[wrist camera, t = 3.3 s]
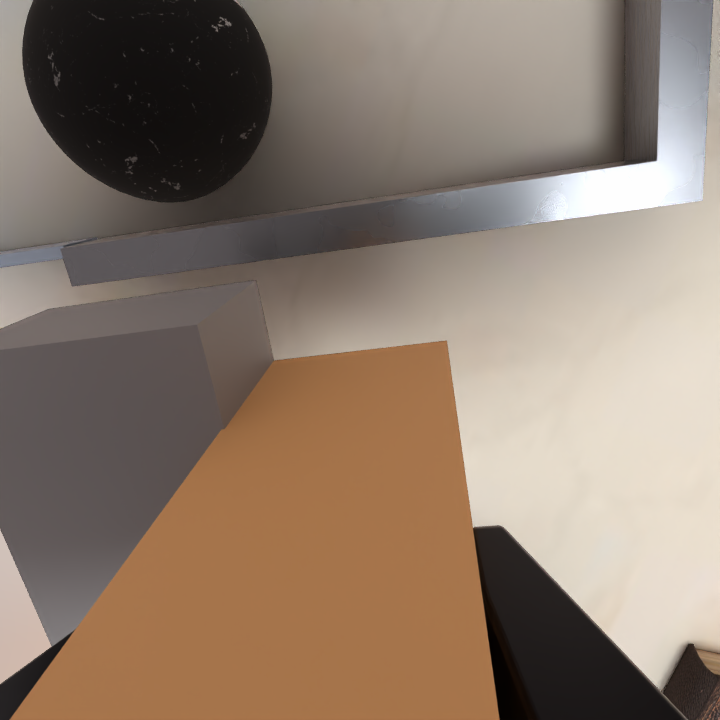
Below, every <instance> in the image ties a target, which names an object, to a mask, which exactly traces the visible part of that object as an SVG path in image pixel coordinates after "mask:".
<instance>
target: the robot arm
mask: <svg viewBox="0 0 720 720" xmlns="http://www.w3.org/2000/svg"><path fill="white" fill-rule="evenodd" d="M473 533H474V540H475V547H476V554H477V562H478V569H479V576H480V583H481V590H482V598H483V605H484V612H485V619H486V626H487V633H488V641H489V648H490V655H491V662H492V669H493V677H494V684H495V691H496V698H497V705H498V712H499V720H688V719H687V718H686V717H685V716H684V715H683V714H682V713H681V712H680V711H679V710H678V709H677V708H676V707H675V706H674V705H673V704H672V703H671V702H670V701H669V699H668V698H667V697H666V696H665V695H664V694H663V693H662V692H661V691H660V690H659V689H658V688H657V687H656V686H655V685H654V684H653V683H652V682H651V681H650V680H649V679H648V678H647V676H646V675H645V674H644V673H643V672H642V671H641V670H640V669H639V668H638V667H637V666H636V665H635V664H634V663H633V662H632V661H631V660H630V659H629V658H628V657H627V656H626V655H625V653H624V652H623V651H622V650H621V649H620V648H619V647H618V646H617V645H616V644H615V643H614V642H613V641H612V640H611V639H610V638H609V637H608V636H607V635H606V634H605V633H604V632H603V631H602V629H601V628H600V627H599V626H598V625H597V624H596V623H595V622H594V621H593V620H592V619H591V618H590V617H589V616H588V615H587V614H586V613H585V612H584V611H583V610H582V609H581V608H580V606H579V605H578V604H577V603H576V602H575V601H574V600H573V599H572V598H571V597H570V596H569V595H568V594H567V593H566V592H565V591H564V590H563V589H562V588H561V587H560V586H559V585H558V583H557V582H556V581H555V580H554V579H553V578H552V577H551V576H550V575H549V574H548V573H547V572H546V571H545V570H544V569H543V568H542V567H541V566H540V565H539V564H538V563H537V562H536V560H535V559H534V558H533V557H532V556H531V555H530V554H529V553H528V552H527V551H526V550H525V549H524V548H523V547H522V546H521V545H520V544H519V543H518V542H517V541H516V540H515V539H514V538H513V536H512V535H511V534H510V533H509V532H508V531H507V530H506V529H505V528H504V527H502V526H499V525H497V526H482V527H474V528H473ZM75 630H76V629H75ZM75 630H74V631H75ZM74 631H72V632H71V633H70V634H68V635H67V636H66V637H64V638H63V639H61V640H60V641H59V642H57V643H56V644H55V645H53V646H52V647H51V648H49V649H48V650H46V651H45V652H44V653H42V654H41V655H40V656H38V657H37V658H35V659H34V660H33V661H31V662H30V663H29V664H27V665H26V666H24V667H23V668H22V669H20V671H18V672H16V673H15V674H14V675H12V676H11V677H9V678H8V679H7V680H5V681H4V682H3V683H1V684H0V720H10V719H11V717H12V716H13V714H14V713H15V712H16V710H17V709H18V708H19V706H20V705H21V704H22V702H23V701H24V699H25V698H26V697H27V695H28V694H29V693H30V691H31V690H32V688H33V687H34V686H35V684H36V683H37V682H38V680H39V679H40V677H41V676H42V675H43V673H44V672H45V671H46V669H47V668H48V667H49V665H50V664H51V662H52V661H53V660H54V658H55V657H56V656H57V654H58V653H59V651H60V650H61V649H62V647H63V646H64V645H65V643H66V642H67V640H68V639H69V638H70V636H71V635H72V634H73V632H74Z"/></svg>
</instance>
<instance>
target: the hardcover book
mask: <svg viewBox="0 0 720 720" xmlns="http://www.w3.org/2000/svg"><path fill="white" fill-rule="evenodd" d="M663 694H664V695H665V696H666V697H667V698H668V699H669V701H670V702H671V703H672V704H673V705H674V706H675V707H676V708H677V709H678V710H679V711H680V712H681V713H682V714H683V715H684V716H685V717H686V718H687V719H688V720H720V654H717V653H712V652H707V651H703V650H698V649H695V647H694V644H689V645H688V647H687V649H686V651H685V652H684V654H683V656H682V658H681V660H680V662H679V664H678V666H677V668H676V670H675V672H674V673H673V675H672V677H671V679H670V681H669V683H668V685H667V687H666V689H665V691H664V693H663Z"/></svg>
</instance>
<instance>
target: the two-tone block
mask: <svg viewBox="0 0 720 720" xmlns="http://www.w3.org/2000/svg"><path fill="white" fill-rule="evenodd" d="M0 529H1V532H2V534H3V536H4V538H5V541H6V543H7V545H8V548H9V550H10V552H11V555H12V556H13V559H14V561H15V564H16V566H17V568H18V571H19V573H20V575H21V577H22V580H23V582H24V584H25V587H26V588H27V591H28V593H29V596H30V598H31V600H32V602H33V605H34V607H35V609H36V612H37V614H38V616H39V619H40V621H41V623H42V625H43V628H44V630H45V632H46V634H47V637H48V639H49V641H50V644H51V646H53V645H55V644H56V643H57V642H59V641H60V640H61V639H63V638H64V637H66V636H67V635H68V634H70V633H71V632H72V631H74V630H75V629H76V630H75V631H74V632H73V634H72V635H71V636H70V638H69V639H68V640H67V642H66V643H65V645H64V646H63V647H62V649H61V650H60V651H59V653H58V654H57V656H56V657H55V658H54V660H53V661H52V662H51V664H50V665H49V667H48V668H47V669H46V671H45V672H44V673H43V675H42V676H41V677H40V679H39V680H38V682H37V683H36V684H35V686H34V687H33V688H32V690H31V691H30V693H29V694H28V695H27V697H26V698H25V699H24V701H23V702H22V704H21V705H20V706H19V708H18V709H17V710H16V712H15V713H14V714H13V716H12V717H11V719H10V720H499V712H498V705H497V698H496V691H495V684H494V677H493V669H492V662H491V655H490V648H489V641H488V633H487V626H486V619H485V612H484V605H483V598H482V590H481V583H480V576H479V569H478V562H477V554H476V547H475V540H474V533H473V526H472V519H471V511H470V504H469V497H468V490H467V483H466V475H465V468H464V461H463V454H462V447H461V440H460V432H459V425H458V418H457V411H456V404H455V396H454V389H453V382H452V375H451V368H450V360H449V353H448V346H447V341H439V342H431V343H422V344H413V345H405V346H396V347H387V348H379V349H370V350H361V351H353V352H344V353H336V354H327V355H318V356H310V357H301V358H292V359H284V360H275V361H274V359H273V355H272V350H271V345H270V341H269V336H268V332H267V327H266V323H265V318H264V314H263V309H262V305H261V300H260V295H259V291H258V286H257V282H256V280H253V281H246V282H239V283H232V284H225V285H217V286H210V287H203V288H196V289H189V290H181V291H174V292H167V293H160V294H153V295H145V296H138V297H131V298H124V299H117V300H109V301H102V302H95V303H88V304H81V305H73V306H66V307H59V308H52V309H47V310H45V311H43V312H40V313H38V314H35V315H33V316H30V317H28V318H26V319H23V320H21V321H18V322H16V323H13V324H11V325H9V326H6V327H4V328H1V329H0Z"/></svg>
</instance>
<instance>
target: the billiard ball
mask: <svg viewBox="0 0 720 720" xmlns="http://www.w3.org/2000/svg"><path fill="white" fill-rule="evenodd" d="M22 57H23V70H24V77H25V82H26V86H27V90H28V93H29V96H30V99H31V102H32V104H33V107H34V109H35V111H36V113H37V115H38V117H39V119H40V121H41V123H42V124H43V126H44V127H45V129H46V130H47V132H48V133H49V135H50V136H51V137H52V139H53V140H54V141H55V143H56V144H57V145H58V146H59V147H60V149H61V150H62V151H63V152H64V153H65V154H66V155H67V156H68V157H69V158H70V159H71V160H72V161H73V162H74V163H76V164H77V165H78V166H79V167H80V168H82V169H83V170H84V171H85V172H87V173H88V174H90V175H91V176H93V177H94V178H96V179H97V180H99V181H101V182H102V183H104V184H106V185H108V186H110V187H112V188H114V189H116V190H118V191H120V192H123V193H126V194H128V195H131V196H134V197H137V198H141V199H145V200H151V201H157V202H184V201H189V200H193V199H196V198H199V197H202V196H205V195H207V194H209V193H211V192H213V191H215V190H217V189H218V188H220V187H221V186H223V185H224V184H226V183H227V182H228V181H229V180H231V179H232V178H233V177H234V176H235V175H236V174H237V173H238V172H239V171H240V170H241V169H242V168H243V167H244V165H245V164H246V163H247V162H248V160H249V159H250V157H251V156H252V154H253V153H254V151H255V150H256V148H257V146H258V144H259V142H260V140H261V138H262V136H263V133H264V130H265V127H266V125H267V121H268V117H269V113H270V107H271V98H272V78H271V70H270V65H269V60H268V56H267V53H266V50H265V47H264V44H263V42H262V40H261V37H260V35H259V33H258V31H257V29H256V27H255V26H254V24H253V22H252V20H251V19H250V17H249V16H248V14H247V13H246V11H245V10H244V8H243V7H242V6H241V5H240V3H239V2H238V1H237V0H33V2H32V5H31V8H30V10H29V13H28V17H27V21H26V25H25V30H24V37H23V49H22Z"/></svg>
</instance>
